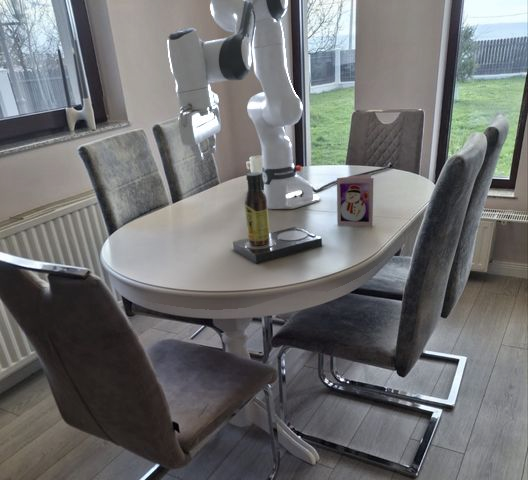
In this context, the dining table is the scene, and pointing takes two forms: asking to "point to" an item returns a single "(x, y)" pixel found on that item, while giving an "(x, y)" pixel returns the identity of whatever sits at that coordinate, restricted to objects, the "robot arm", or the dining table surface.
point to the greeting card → (355, 200)
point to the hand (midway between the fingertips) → (206, 156)
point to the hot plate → (279, 245)
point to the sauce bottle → (256, 211)
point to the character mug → (256, 166)
